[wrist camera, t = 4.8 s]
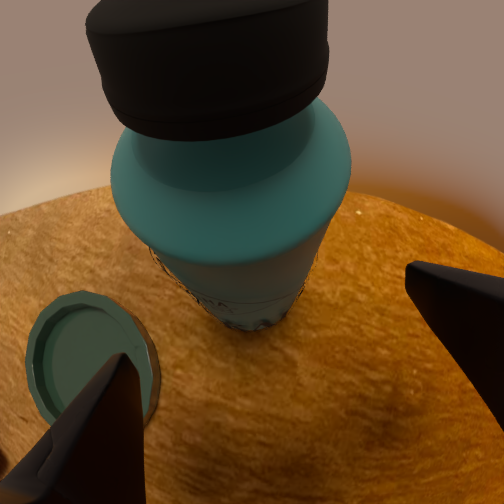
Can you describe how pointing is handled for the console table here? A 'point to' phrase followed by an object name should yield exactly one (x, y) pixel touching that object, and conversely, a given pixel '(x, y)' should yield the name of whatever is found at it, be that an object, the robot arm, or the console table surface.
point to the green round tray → (85, 351)
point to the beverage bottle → (224, 143)
